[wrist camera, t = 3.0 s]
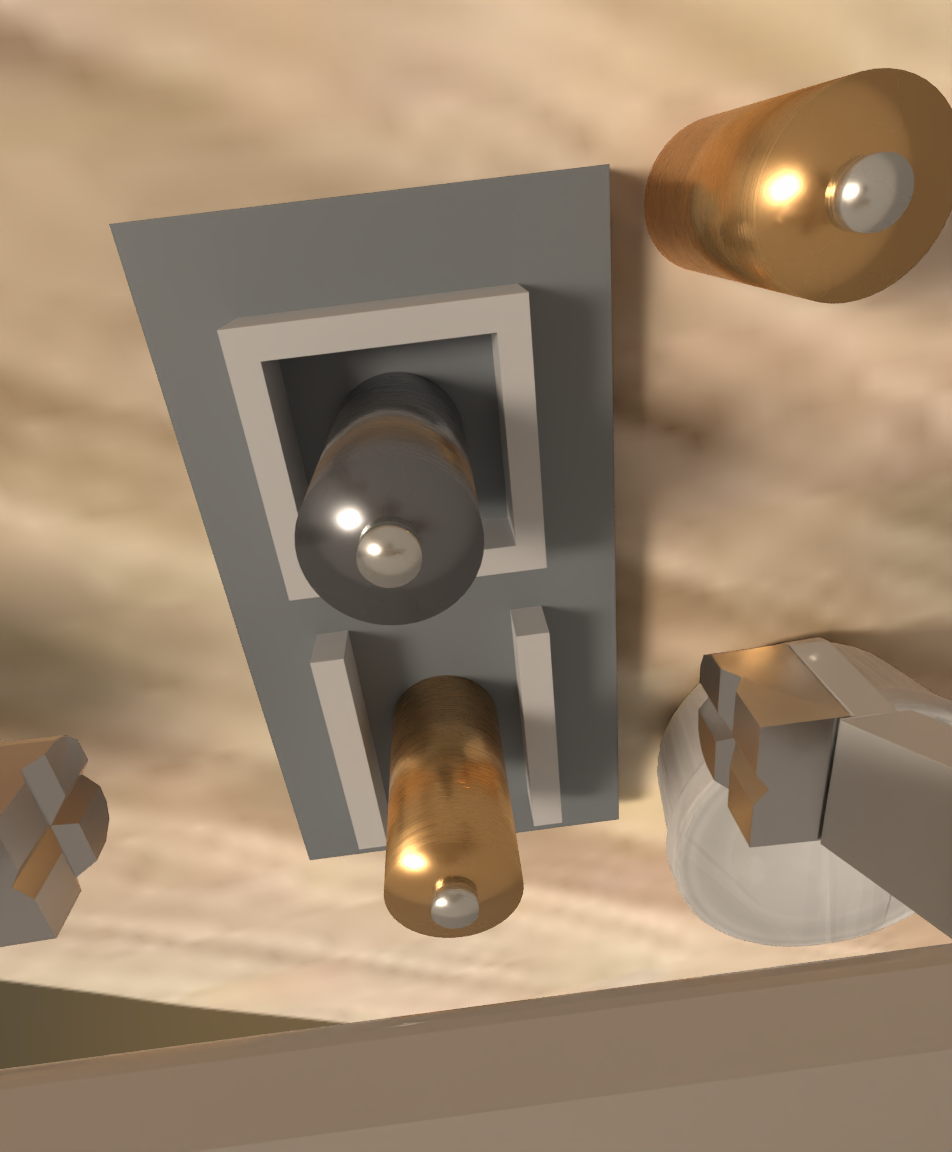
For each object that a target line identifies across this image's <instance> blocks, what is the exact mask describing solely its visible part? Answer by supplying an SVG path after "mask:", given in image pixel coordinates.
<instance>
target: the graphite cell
mask: <svg viewBox="0 0 952 1152" xmlns="http://www.w3.org/2000/svg"><path fill="white" fill-rule="evenodd" d="M294 536H295V550H296V555H297V559H298V562H299V565H300V568H301V570H302V572H303V574H304V576H305V578H306V580H307V581H308V583H309V584H310V586H311V587H312V588H313V590H314V591H315V592H316V593H317V594H318V595H319V596H320V597H321V598H322V599H323V600H324V601H325V602H326V603H328V604H329V605H330V606H332V607H333V608H335V609H336V610H338V611H339V612H341V613H343V614H345V615H347V616H349V617H352V618H354V619H357V620H360V621H363V622H367V623H372V624H378V625H406V624H411V623H417V622H420V621H423V620H426V619H429V618H431V617H433V616H436V615H438V614H440V613H441V612H443V611H445V610H446V609H448V608H449V607H451V606H452V605H453V604H455V603H456V602H457V601H458V600H459V599H460V598H461V597H462V596H463V595H464V594H465V593H466V591H467V590H468V589H469V587H470V586H471V585H472V583H473V581H474V579H475V578H476V576H477V574H478V571H479V569H480V566H481V562H482V558H483V553H484V531H483V526H482V520H481V515H480V510H479V505H478V500H477V494H476V489H475V484H474V479H473V474H472V468H471V463H470V458H469V453H468V448H467V442H466V437H465V432H464V427H463V422H462V418H461V415H460V413H459V411H458V409H457V406H456V405H455V403H454V402H453V400H452V399H451V397H450V396H449V395H448V394H447V393H446V392H445V391H444V390H443V389H442V388H441V387H440V386H438V385H437V384H435V383H434V382H432V381H431V380H429V379H427V378H425V377H422V376H419V375H416V374H412V373H408V372H388V373H383V374H379V375H376V376H373V377H371V378H369V379H367V380H365V381H363V382H362V383H360V384H359V385H357V386H356V387H355V388H354V389H353V390H352V391H351V392H350V393H349V394H348V395H347V397H346V398H345V400H344V401H343V403H342V404H341V407H340V409H339V411H338V413H337V416H336V419H335V421H334V424H333V426H332V429H331V431H330V434H329V436H328V439H327V442H326V444H325V447H324V449H323V452H322V454H321V457H320V459H319V462H318V465H317V467H316V470H315V472H314V475H313V477H312V480H311V482H310V485H309V487H308V490H307V493H306V495H305V498H304V500H303V503H302V505H301V508H300V510H299V513H298V517H297V521H296V526H295V534H294Z"/></svg>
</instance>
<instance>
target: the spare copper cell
mask: <svg viewBox="0 0 952 1152" xmlns="http://www.w3.org/2000/svg"><path fill="white" fill-rule="evenodd" d="M523 889H524V888H523V877H522V871H521V864H520V858H519V851H518V845H517V838H516V832H515V825H514V819H513V812H512V806H511V800H510V793H509V787H508V780H507V774H506V767H505V761H504V754H503V748H502V742H501V735H500V729H499V722H498V716H497V710H496V705H495V703H494V700H493V699H492V697H491V695H490V694H489V693H488V692H487V691H486V690H485V689H484V688H483V687H482V686H481V685H479V684H478V683H476V682H474V681H472V680H469V679H467V678H463V677H459V676H452V675H442V676H434V677H430V678H427V679H424V680H421V681H419V682H417V683H415V684H414V685H412V686H411V687H409V688H408V689H407V690H406V691H405V692H404V693H403V694H402V695H401V696H400V698H399V699H398V701H397V703H396V705H395V707H394V711H393V722H392V742H391V762H390V782H389V802H388V822H387V842H386V862H385V882H384V900H385V904H386V906H387V909H388V910H389V912H390V914H391V915H392V916H393V917H394V918H395V919H396V920H397V921H398V922H399V923H400V924H402V925H403V926H405V927H406V928H408V929H410V930H412V931H415V932H417V933H420V934H424V935H428V936H433V937H443V938H455V937H464V936H469V935H474V934H477V933H481V932H483V931H486V930H488V929H490V928H493V927H495V926H496V925H498V924H500V923H501V922H502V921H504V920H505V919H506V918H508V917H509V916H510V915H511V914H512V913H513V911H514V910H515V909H516V908H517V906H518V904H519V903H520V901H521V898H522V895H523Z"/></svg>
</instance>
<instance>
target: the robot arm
mask: <svg viewBox="0 0 952 1152" xmlns="http://www.w3.org/2000/svg"><path fill="white" fill-rule="evenodd" d="M700 683H701V685H702V687H703V688H704V690H705V692H706V693H707V695H708V698H707V699H706V701H705V702H704V703H703V704H702V706H701V707H700V708H699V709H698V732H699V738H700V744H701V750H702V754H703V757H704V759H705V762H706V765H707V768H708V770H709V772H710V773H711V775H712V777H713V779H714V781H716V782H717V783H719V784H721V785H722V786H724V787H726V788H727V789H729V792H728V808H729V810H730V812H731V814H732V816H733V817H734V819H735V821H736V823H737V825H738V827H739V829H740V831H741V832H742V834H743V836H744V838H745V840H746V842H747V844H748V846H749V847H750V848H751V847H761V846H771V845H780V844H790V843H800V842H810V841H819V840H821V842H820V844H821V845H823V846H824V847H825V848H827V849H828V850H830V851H831V852H832V853H834V854H835V855H836V856H838V857H839V858H841V859H842V860H843V861H845V862H846V863H848V864H849V865H850V866H852V867H853V868H854V869H856V870H857V871H859V872H860V873H861V874H863V875H864V876H866V877H867V878H868V879H870V880H871V881H872V882H874V883H875V884H877V885H878V886H879V887H881V888H882V889H884V890H885V891H886V892H888V893H889V894H890V895H892V896H893V897H895V898H896V899H897V900H899V901H900V902H902V903H903V904H904V905H906V906H907V907H908V908H910V909H911V910H913V911H914V912H915V913H917V914H918V915H920V916H921V917H922V918H924V919H925V920H927V921H928V922H929V923H931V924H932V925H933V926H935V927H936V928H938V929H939V930H940V931H942V932H943V933H945V934H946V935H947V936H949V937H950V938H951V939H952V726H951V725H949V724H946V723H943V722H941V721H938V720H936V719H933V718H931V717H928V716H926V715H923V714H920V713H918V712H915V711H913V710H904V711H897V710H896V709H895V708H894V707H893V706H892V705H891V704H890V703H889V702H888V701H887V700H886V699H885V697H884V696H883V695H882V694H881V693H880V692H879V691H878V690H877V689H876V688H875V687H874V686H873V685H872V684H871V683H870V682H869V681H868V680H867V679H866V678H865V677H864V676H863V675H862V674H861V673H860V672H859V671H858V670H857V669H856V668H855V667H854V666H853V665H852V664H851V663H850V662H849V661H848V660H847V659H846V658H845V657H844V656H843V655H842V654H841V653H840V652H839V651H838V650H837V649H836V648H835V647H834V646H833V645H832V644H831V643H830V642H829V641H828V640H825V639H823V638H820V637H817V638H811V639H804V640H798V641H792V642H785V643H781V644H779V645H771V646H764V647H757V648H750V649H743V650H736V651H729V652H721V653H714V654H707V655H704V656H703V659H702V662H701V666H700ZM87 761H88V759H87V757H86V755H85V753H84V751H83V749H82V747H81V745H80V743H79V742H78V740H77V739H74V738H72V737H69V736H67V735H62V736H53V737H44V738H34V739H25V740H15V741H6V742H0V947H4V946H10V945H16V944H23V943H29V942H35V941H42V940H48V939H54V938H57V936H58V934H59V932H60V930H61V928H62V927H63V925H64V923H65V921H66V919H67V917H68V915H69V913H70V911H71V909H72V907H73V905H74V904H75V902H76V900H77V898H78V896H79V894H80V892H81V888H80V885H79V882H78V879H77V876H78V875H80V874H81V873H82V872H83V871H85V870H86V869H87V868H88V867H89V866H91V865H92V864H93V863H94V862H95V861H97V859H98V857H99V855H100V853H101V851H102V849H103V846H104V844H105V842H106V838H107V831H108V824H109V814H108V807H107V801H106V799H105V796H104V794H103V792H102V790H101V787H100V786H99V785H97V784H96V783H94V782H93V781H91V780H90V779H88V778H87V777H85V776H84V775H82V773H83V771H84V768H85V766H86V763H87ZM0 1152H952V943H951V944H943V945H936V946H928V947H921V948H913V949H906V950H898V951H891V952H883V953H876V954H868V955H860V956H853V957H845V958H838V959H830V960H823V961H815V962H808V963H800V964H792V965H785V966H777V967H770V968H762V969H755V970H747V971H740V972H732V973H725V974H717V975H709V976H702V977H694V978H687V979H679V980H672V981H664V982H657V983H649V984H641V985H634V986H626V987H619V988H611V989H604V990H596V991H589V992H581V993H573V994H566V995H558V996H551V997H543V998H536V999H528V1000H521V1001H513V1002H505V1003H498V1004H490V1005H483V1006H475V1007H468V1008H460V1009H453V1010H445V1011H438V1012H430V1013H422V1014H415V1015H407V1016H400V1017H392V1018H385V1019H377V1020H370V1021H362V1022H355V1023H347V1024H340V1025H332V1026H325V1027H317V1028H310V1029H303V1030H294V1031H288V1032H279V1033H272V1034H264V1035H257V1036H249V1037H242V1038H234V1039H227V1040H219V1041H212V1042H204V1043H197V1044H189V1045H182V1046H174V1047H167V1048H160V1049H152V1050H144V1051H136V1052H129V1053H121V1054H114V1055H106V1056H99V1057H91V1058H85V1059H76V1060H68V1061H61V1062H53V1063H46V1064H38V1065H31V1066H23V1067H16V1068H8V1069H1V1070H0Z"/></svg>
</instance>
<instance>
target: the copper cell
mask: <svg viewBox="0 0 952 1152" xmlns="http://www.w3.org/2000/svg"><path fill="white" fill-rule="evenodd" d="M644 210H645V219H646V225H647V228H648V231H649V234H650V236H651V239H652V241H653V243H654V244H655V246H656V247H657V249H658V250H659V251H660V252H661V254H662V255H663V256H664V257H666V258H667V259H668V260H669V261H670V262H672V263H674V264H675V265H677V266H679V267H682V268H684V269H688V270H692V271H696V272H700V273H704V274H708V275H712V276H716V277H720V278H724V279H728V280H732V281H736V282H740V283H744V284H748V285H752V286H756V287H760V288H764V289H768V290H772V291H776V292H780V293H785V294H789V295H793V296H797V297H801V298H805V299H809V300H813V301H817V302H822V303H846V302H851V301H856V300H859V299H862V298H866V297H869V296H871V295H873V294H875V293H877V292H880V291H882V290H883V289H885V288H887V287H888V286H890V285H892V284H893V283H895V282H896V281H897V280H899V279H900V278H901V277H903V276H904V275H905V274H906V273H907V272H908V271H910V270H911V269H912V268H913V267H914V266H915V265H916V264H917V263H918V262H919V261H920V259H921V258H922V257H923V256H924V255H925V254H926V253H927V251H928V250H929V249H930V247H931V246H932V245H933V243H934V242H935V240H936V239H937V237H938V235H939V234H940V232H941V230H942V229H943V227H944V225H945V223H946V221H947V219H948V217H949V215H950V212H951V210H952V108H951V107H950V105H949V103H948V102H947V100H946V98H945V97H944V96H943V95H942V94H941V93H940V91H939V90H938V89H937V88H936V87H935V86H933V85H932V84H931V83H930V82H928V81H927V80H926V79H924V78H922V77H920V76H918V75H916V74H914V73H911V72H908V71H904V70H899V69H891V68H882V69H872V70H867V71H862V72H858V73H855V74H851V75H848V76H844V77H841V78H838V79H834V80H831V81H828V82H824V83H821V84H817V85H814V86H811V87H807V88H804V89H801V90H797V91H794V92H790V93H787V94H784V95H780V96H777V97H774V98H770V99H767V100H763V101H760V102H757V103H753V104H750V105H747V106H743V107H740V108H736V109H733V110H730V111H726V112H723V113H720V114H716V115H713V116H709V117H706V118H703V119H700V120H698V121H696V122H694V123H692V124H690V125H688V126H687V127H685V128H684V129H682V130H681V131H680V132H678V133H677V134H676V135H675V136H674V137H673V138H672V139H671V140H670V141H669V142H668V143H667V144H666V146H665V147H664V148H663V150H662V151H661V153H660V154H659V156H658V158H657V159H656V161H655V163H654V165H653V167H652V170H651V172H650V175H649V178H648V182H647V185H646V191H645V200H644Z"/></svg>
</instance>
